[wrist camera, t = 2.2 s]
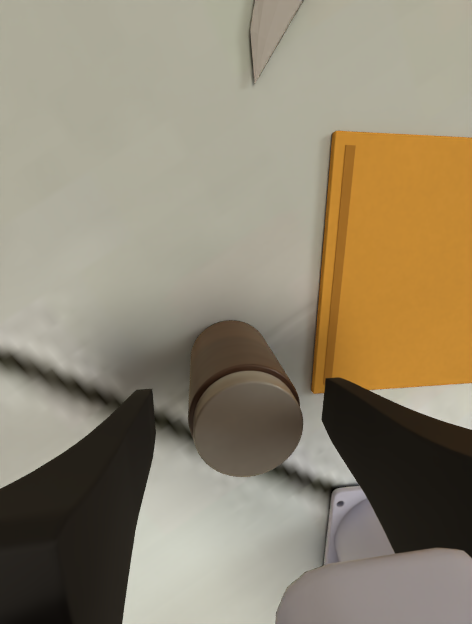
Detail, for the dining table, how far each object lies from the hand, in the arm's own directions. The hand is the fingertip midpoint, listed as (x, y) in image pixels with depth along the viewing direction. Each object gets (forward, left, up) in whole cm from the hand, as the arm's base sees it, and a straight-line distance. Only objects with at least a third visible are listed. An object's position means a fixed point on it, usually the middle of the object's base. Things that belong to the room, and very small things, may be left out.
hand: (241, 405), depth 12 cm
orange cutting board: (+4, -15, -5) cm, 16 cm away
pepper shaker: (0, 0, -5) cm, 5 cm away
